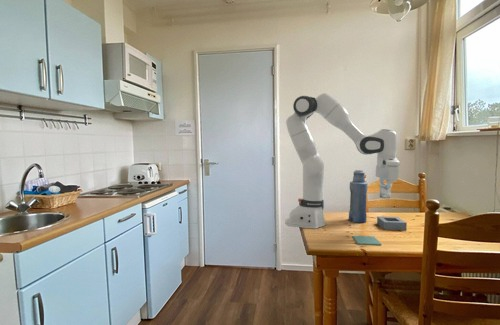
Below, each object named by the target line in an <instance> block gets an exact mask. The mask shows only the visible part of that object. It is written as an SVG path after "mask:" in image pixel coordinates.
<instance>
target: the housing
mask: <svg viewBox="0 0 500 325" xmlns="http://www.w3.org/2000/svg"><path fill="white" fill-rule="evenodd" d="M376 218H377V219H376V224H377V225H378V226H379V227H380V228H382V229H383V230H387V231H389V230H391V231H392V230H393V231H407V225H408V224H407V222H406V221H405V220H403V219H402V218H400V217H398V216H377V217H376Z"/></svg>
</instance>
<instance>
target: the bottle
mask: <svg viewBox="0 0 500 325" xmlns="http://www.w3.org/2000/svg"><path fill="white" fill-rule="evenodd" d="M349 192H350V196H349V200H350V201H349V204H350V205H349V211H348V221H350V222H352V223H359V224H362V223H366V222H367V193H368V182H366V179H365V171H364V170H363V169H356V170H354V171H353V177H352V181H349Z"/></svg>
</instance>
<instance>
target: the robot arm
mask: <svg viewBox="0 0 500 325" xmlns="http://www.w3.org/2000/svg"><path fill="white" fill-rule="evenodd" d="M292 105H293V106H292V107H293V111H294V113H293V114H291V115H290V116H288V117H287V119H286V122H285V124H286V128H287V131H288V135H289V137H290V139H291V141H292V144H293V146H294V149H295V152H296V154H297V155H298V158H299V160H300V162H301V164H302V198H301V197H300V198H298V199H297V202H298V204H299V205H297V206H296V207H294V208H293V209H292V210H291V211H290V212H289V217H288V218H286V219H285V222H284V224H285V226H287V227H293V228H294V227H295V228H300V229H301V228H303V229H304V228H305V229H313V230H314V229H319V228H321V227H325V226H326V221H325V215H324V208H325V207H324V206H325V202H324V171H325V170H324V168H325V164H324V161H323V160H322V158H321V155H320V153H319V150H318V148H317V147H316V143H315V141H314V137H313V136H312V133H311V131H310V129H309V127H308V124H307V120H308V119H309V118H310V117H312V115H314V114H315V113H317V114H319V115H320V116H321V117H322V118H324V119H325V121H327V122H328V123H329V124H331V125H332V126H333V127H335V128H336V129H339V130H341V131H342V132H343V133H344V134H345V135H347V136H348V138H350V139H351V140H352V141H353V142H354V145H355V146H356V149H357V151H358V152H359V153H360V154H362V155H373V154H377V156H376V159H377V160H376V168H375V177H376V178H379V183H385V180H386V183H387V185H386V189H391V190H392V187H391V184H392V185H393V182H397V181H398V179H399V174H400V172H399V171H400V168H399V167H400V166H401V162H400V161H399V159H398V158H397V148H398V136H397V132H395V131H394V130H391V129H380V130H378V131H377V132H374V133H372V134H370V135H366V134H364V133H363V132H361V130H359V129H358V127H356V125H355V124H354V123H353V122H352V120H351V118H350V114H349V112H348V110H347V109H346V108H345V107H344V105H342V104H341V103H340V102H339V101H338V100H336V99H335V97H333V96H331V95H330V94H328V93H321V94H319V95H317V97H316V98H315V97H312V96H308V95H301V96H299V97H297V98H296V99H295V100H294V102H293V104H292Z"/></svg>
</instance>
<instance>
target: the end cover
mask: <svg viewBox="0 0 500 325" xmlns="http://www.w3.org/2000/svg"><path fill="white" fill-rule="evenodd" d="M386 185H387V182H384V183H380V182H379V183H378V186H379V198H382V199H391V194H392V192H391V190H392V187H393V183H392V184H391V189H386Z"/></svg>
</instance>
